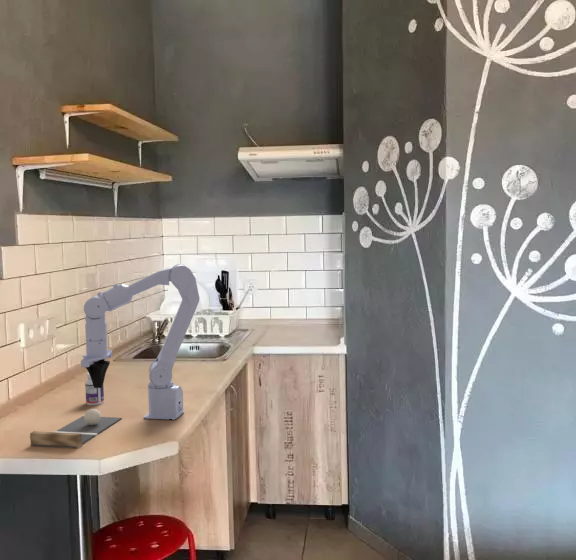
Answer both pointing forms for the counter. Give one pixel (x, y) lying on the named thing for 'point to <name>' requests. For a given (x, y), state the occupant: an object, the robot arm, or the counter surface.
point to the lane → (86, 429)
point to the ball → (92, 417)
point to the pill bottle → (93, 393)
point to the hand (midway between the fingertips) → (98, 387)
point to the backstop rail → (56, 439)
